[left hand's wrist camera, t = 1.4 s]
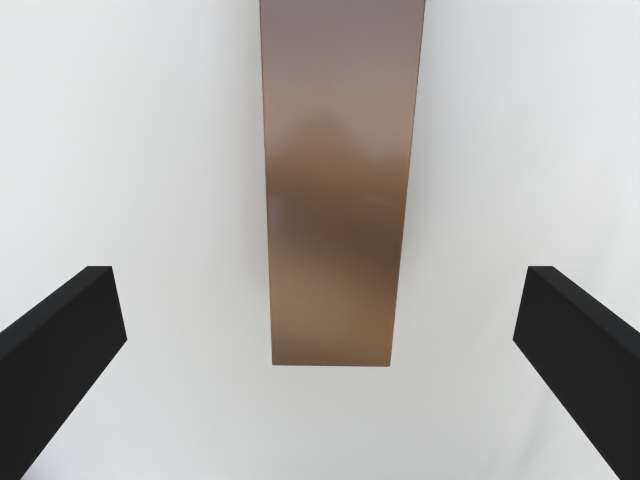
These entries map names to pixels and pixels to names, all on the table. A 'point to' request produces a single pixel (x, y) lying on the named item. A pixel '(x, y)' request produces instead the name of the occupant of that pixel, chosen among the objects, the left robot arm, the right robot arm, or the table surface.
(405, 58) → the bar
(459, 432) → the table surface
